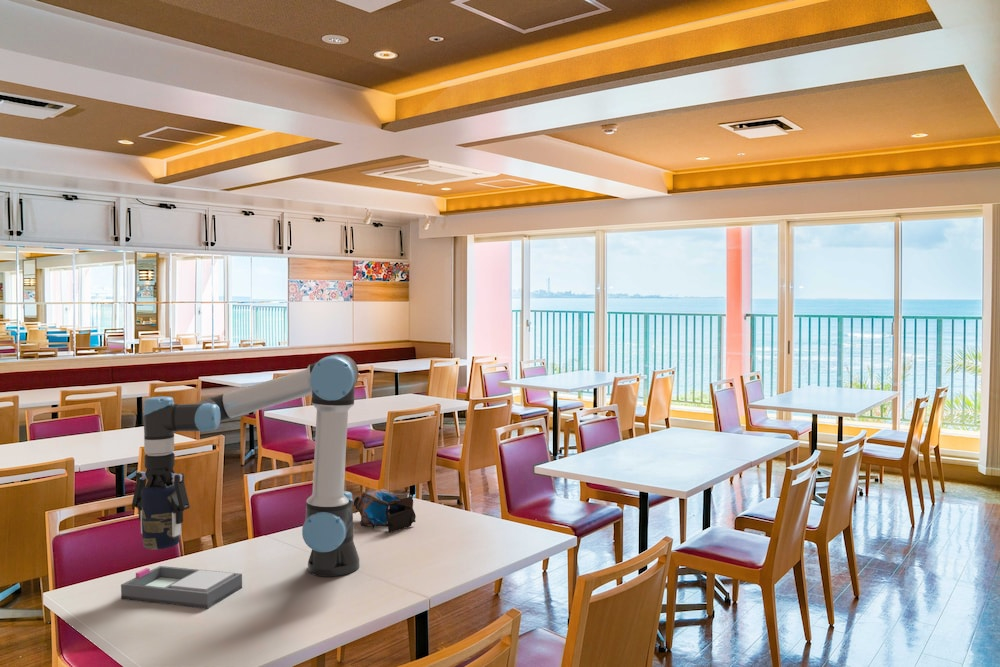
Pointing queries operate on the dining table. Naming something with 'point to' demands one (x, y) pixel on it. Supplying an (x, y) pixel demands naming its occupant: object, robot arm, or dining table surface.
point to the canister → (157, 517)
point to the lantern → (385, 510)
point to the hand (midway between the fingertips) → (161, 533)
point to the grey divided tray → (181, 586)
